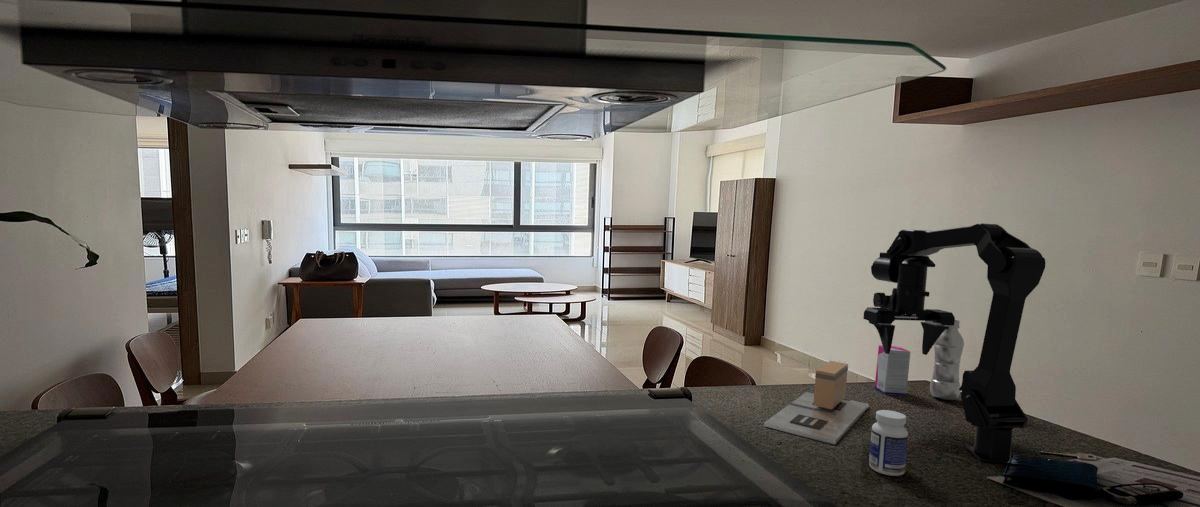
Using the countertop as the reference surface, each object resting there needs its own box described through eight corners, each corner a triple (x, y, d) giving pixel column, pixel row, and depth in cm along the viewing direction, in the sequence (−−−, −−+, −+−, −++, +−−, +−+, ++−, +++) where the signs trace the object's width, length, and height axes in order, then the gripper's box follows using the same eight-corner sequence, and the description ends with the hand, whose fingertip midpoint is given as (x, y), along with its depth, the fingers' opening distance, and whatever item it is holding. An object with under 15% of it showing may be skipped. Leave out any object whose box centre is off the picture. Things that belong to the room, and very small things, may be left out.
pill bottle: (909, 470, 102) (914, 414, 101) (899, 480, 98) (904, 422, 97) (874, 459, 106) (879, 406, 105) (863, 468, 102) (868, 413, 101)
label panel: (868, 407, 136) (868, 402, 136) (834, 444, 112) (835, 439, 112) (807, 393, 144) (807, 389, 144) (764, 426, 120) (764, 421, 120)
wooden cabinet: (845, 397, 138) (848, 363, 138) (832, 409, 128) (834, 373, 128) (827, 393, 141) (830, 360, 140) (813, 405, 131) (815, 370, 130)
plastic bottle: (965, 403, 143) (973, 323, 142) (937, 402, 143) (945, 321, 142) (949, 395, 149) (957, 318, 148) (923, 394, 149) (930, 316, 148)
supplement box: (907, 395, 147) (911, 351, 146) (883, 394, 147) (887, 349, 147) (896, 388, 153) (900, 345, 152) (873, 387, 153) (877, 344, 152)
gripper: (925, 282, 140) (920, 346, 141) (852, 280, 138) (847, 345, 139) (959, 288, 129) (953, 358, 130) (880, 285, 127) (875, 356, 128)
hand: (905, 354), depth 132 cm, fingers open, 9 cm apart
